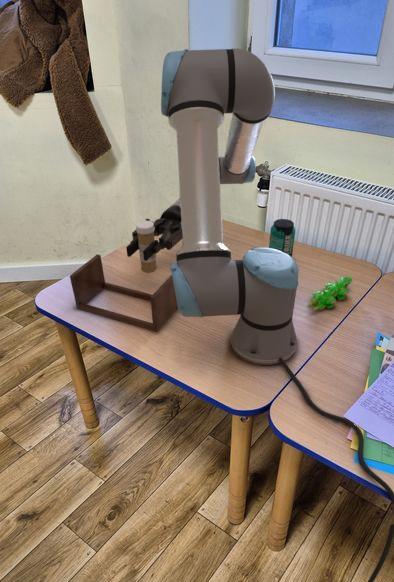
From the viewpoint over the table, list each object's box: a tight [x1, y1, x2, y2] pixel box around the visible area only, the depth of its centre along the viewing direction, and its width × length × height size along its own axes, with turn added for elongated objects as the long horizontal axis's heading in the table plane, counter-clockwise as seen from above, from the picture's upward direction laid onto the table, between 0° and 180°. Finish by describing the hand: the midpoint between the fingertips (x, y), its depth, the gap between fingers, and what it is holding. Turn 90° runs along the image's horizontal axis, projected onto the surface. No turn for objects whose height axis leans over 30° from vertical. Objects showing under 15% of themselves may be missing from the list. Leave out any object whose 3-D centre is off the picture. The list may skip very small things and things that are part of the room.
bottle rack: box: [69, 253, 178, 333], centre depth 120 cm, size 12×24×10 cm, turn 65°
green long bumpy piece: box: [306, 275, 353, 311], centre depth 123 cm, size 7×18×4 cm, turn 134°
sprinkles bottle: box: [135, 220, 158, 274], centre depth 124 cm, size 5×5×13 cm
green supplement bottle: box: [268, 218, 296, 258], centre depth 137 cm, size 7×7×12 cm
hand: (136, 253), depth 120 cm, fingers closed on sprinkles bottle, 4 cm apart
